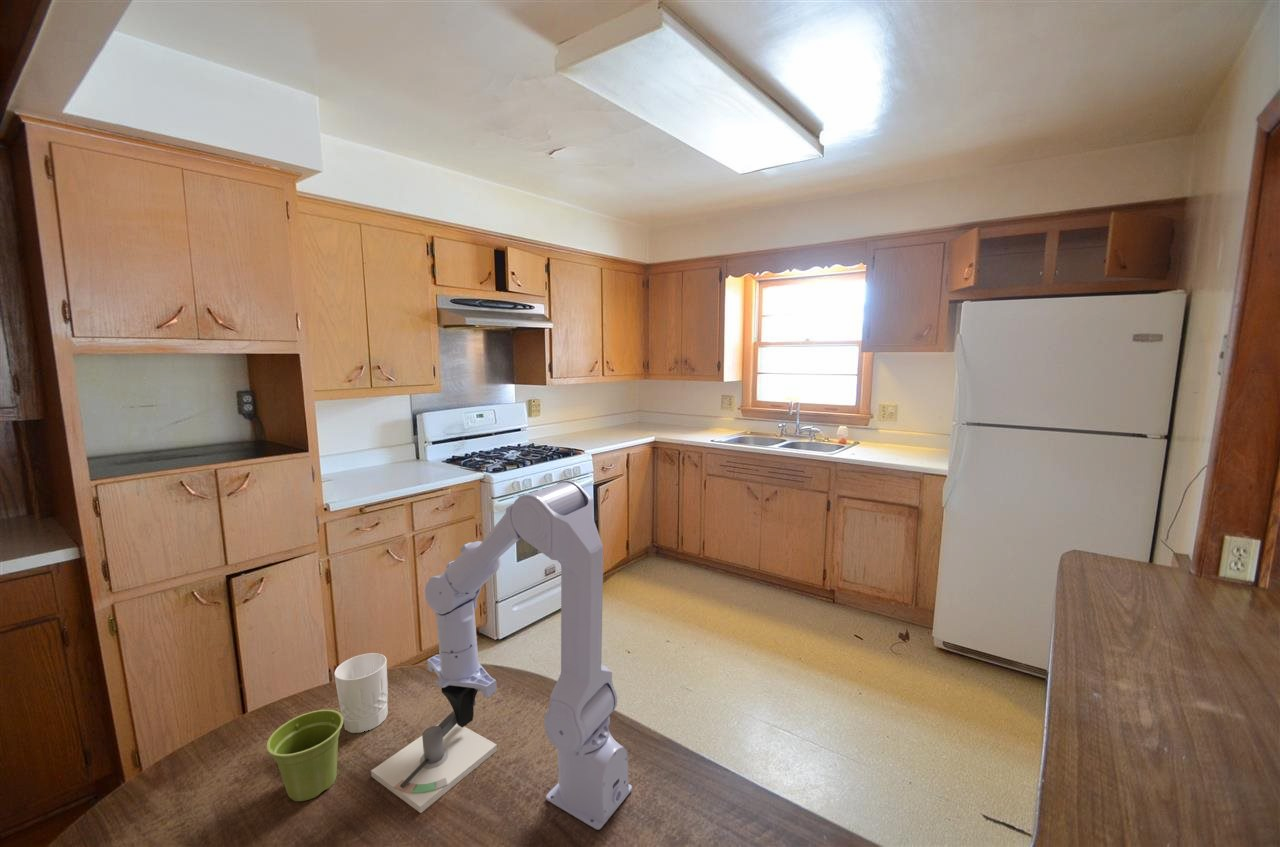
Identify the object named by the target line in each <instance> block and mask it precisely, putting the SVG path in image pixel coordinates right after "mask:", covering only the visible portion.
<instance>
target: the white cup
mask: <svg viewBox="0 0 1280 847" xmlns="http://www.w3.org/2000/svg"><path fill="white" fill-rule="evenodd" d="M387 662H388V661H387V657H386V656H385V655H384V654H381V653H377V652H376V653H375V652H369V653H363V654H358V655H355V656H353V657H351V658H350V657H349V658H347V659H346V660H345V661H343V662H342V663H339V665H338V666H337V667H336V668H335V670H334V672H333V674H334V680H335V686H336V688H335V689H336V692H337V699H338V705H339V708H340V714H341V715H342V717H343V728H344V731H346V730H347V732H348V733H350V734H360V733H365V732H369V731H371V730H372V729H375V728H376V727H379V726H380V725H381V724H382V723H383V722H384V721H386V718H387V717H388V713H389V710H388V696H389V693H388V688H389V687H388V686H389V685H388V669H387V668H388V663H387ZM368 730H369V731H368ZM364 731H365V732H364Z"/></svg>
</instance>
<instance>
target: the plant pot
mask: <svg viewBox="0 0 1280 847" xmlns="http://www.w3.org/2000/svg"><path fill="white" fill-rule="evenodd" d="M343 726H344V724H343V717H342V714H341V712H339V711H337V710H335V709H319V710H314V711H309V712H306V713H303V714H300V715H298V716H296V717H293V718H292V719H290V720H289V721H286V722H285V723H283V724H282V725H280V726H279V727H278V728H277V729H276V730H274V732H273V733H271V735H270V736H269V738H268V740H267V742H266V750H267V753H268V754H269V755H270V756H272V758H273V759H274V761H275V762H276V764H277V767H278V769H279V773H280V775H281V778H282V781H283V784H284V787H285V790H286V793H287V794H286V795H287V796H288V797H289V798H290V799H291V800H292V801H294V802H304V801H308V800H312V799H314V798H317V797H318V796H319V795H321V793H323V792H324V791H325V790H329V789H330V788H331V787H332V786H333V785H334V783H335V781H336V780H337V775H338V774H337V772H338V754H339V752H338V750H339V749H338V748H339V737H340V733H341V729H342V727H343Z"/></svg>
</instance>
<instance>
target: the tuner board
mask: <svg viewBox="0 0 1280 847" xmlns="http://www.w3.org/2000/svg"><path fill="white" fill-rule="evenodd" d="M439 724H440V723H438V724H437V725H436V726H438V725H439ZM443 748H444V756H443V758H442V759H441V760H439V761H438V762H436V763H431V764H430V763H427V764H426V765H425V766H424V767H423V768H422V769H421V770H420V771H419V772H418V773H417V774H416V775H415V776H414V777H413V778H412V779H411V780H410V781H409V782H408V783H407V785H406V786H405V787H404V788H402V787H400V785H401V784H402V783H403V782H404V781H405V780H406V779H407V778H408V777H409V776H410V775H411V774H412V773H413V772H414V771H415V770H416V769H417V768H418V766H419V765H420V764H421V763H422V762H423V761H424V750H423V739H422V735H421V736H419V737H418V738H416V739H415V740H414V741H412V742H410V743H409V744H408V745H406V746H405V747H403V748H402V749H400V750H399V751H397V752H396V753H394V754H393V755H392V756H390V757H388V758H387V759H385V760H384V761H383V762H382V763H380V764H378V765H377V766H375V767H374V768H373V769H370V774H371V775H370V776H371V778H372V779H374V780H375V781H377V782H378V783H380V785H382V786H383V787H385V788H386V789H387V790H389V791H390V792H391V793H393V795H395V796H397V797H398V798H400V799H401V800H402V801H404V802H405V803H406V804H408V806H410V807H412V808H413V809H414V810H416V811H417V812H418V813H420V814H422V813H423V812H424V811H426V809H428V808H430V806H431V805H433V804H434V803H435V802H436V801H437V800H439V799H440V798H442V796H443V795H446V793H447V792H448V791H450V790H451V789H452V788H453V787H454V786H456V785H458V783H460V782H461V781H462V780H463V779H464V778H466V777H467V776H468V775H469V774H470V773H472V772H473V771H475V769H476V768H478V767H479V766H480V765H482V763H484V762H485V761H486V760H488V759H489V758H490V757H491V756H492V755H493V754H495V753H496V752H497V751H498V744H497V743H494V742H493V741H491V740H489V739H488V738H486V737H485V736H482V735H480V734H478V733H477V732H475V731H473V730H472V729H470V728H468V727H466V726H464V727H463V728H462V727H460V726H458V724H456V725H455V726H454V727H453V728H452V729H451V730H450V731H449V732H448V733H447V734H446V735H445V736H444V737H443Z"/></svg>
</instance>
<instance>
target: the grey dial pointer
mask: <svg viewBox="0 0 1280 847" xmlns="http://www.w3.org/2000/svg"><path fill="white" fill-rule="evenodd" d="M475 706H476V699H475V700H474V704H473V708H474V707H475ZM438 724H439V725H438ZM438 724H437V725H438V726H437V725H433V726H429V727H426V729H425V730H423V732H422V735H421V736H422V739H423V750H424V761H423V762H422V763H421V764H420V765H419V766H418V768H417V769H416V770H415V771H414V772H413V773H412V774H411V775H410V776H409V777H408V778H407V779H406V780H405V781H404V782H403V783H402V784H401V785H400V787H402V788H404V787H405V786H406V785H407V783H408V782H409V781H410V780H411V779H412V778H413V777H414V776H415V775H416V774H417V773H418V772H419V771H420V770H421V769H422V768H423V767H424V766H425V765H426V764H427V763H430V764H431V763H436V762H438V761H439V760H441V759H442V758H443V756H444V748H443V737H444V736H445V735H446V734H447V733H448V732H449V731H450V730H451V729H452V728H453V727H454V726H455V725H456V724H457V720H456V716H455V713H454V710H452V712H450V713H449V714H448V715H447V716H446V717H445V718H444V719H443V720H442V721H441V722H439V723H438Z"/></svg>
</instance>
